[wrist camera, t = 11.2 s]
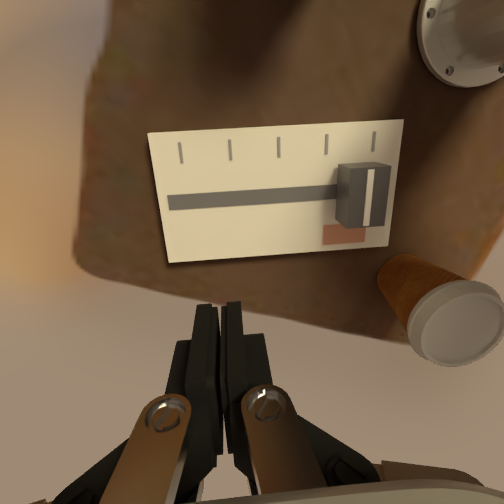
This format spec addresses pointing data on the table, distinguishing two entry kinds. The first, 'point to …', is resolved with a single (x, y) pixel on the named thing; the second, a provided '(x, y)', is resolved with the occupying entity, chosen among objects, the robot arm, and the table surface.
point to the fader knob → (362, 194)
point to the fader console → (265, 187)
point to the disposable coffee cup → (442, 310)
